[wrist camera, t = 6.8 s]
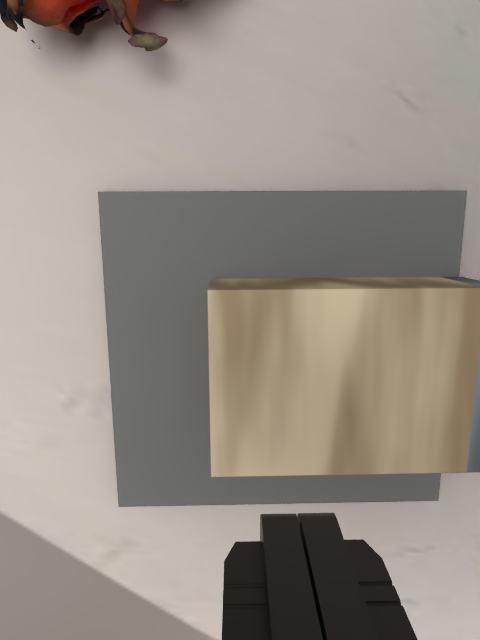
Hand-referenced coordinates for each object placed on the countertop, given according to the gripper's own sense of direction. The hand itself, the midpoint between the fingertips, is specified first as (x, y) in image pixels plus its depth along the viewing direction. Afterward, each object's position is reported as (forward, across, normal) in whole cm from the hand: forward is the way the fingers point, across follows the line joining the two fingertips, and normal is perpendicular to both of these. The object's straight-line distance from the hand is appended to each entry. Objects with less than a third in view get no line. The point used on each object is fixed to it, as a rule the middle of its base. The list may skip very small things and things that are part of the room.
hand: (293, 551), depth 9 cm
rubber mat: (+14, -1, 0) cm, 14 cm away
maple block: (+11, +2, 0) cm, 12 cm away
